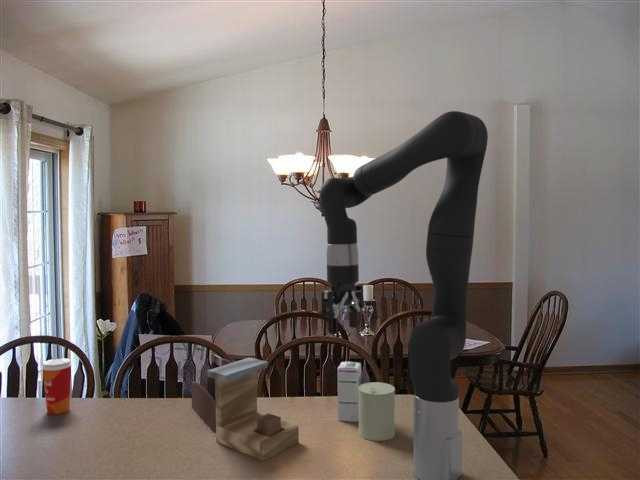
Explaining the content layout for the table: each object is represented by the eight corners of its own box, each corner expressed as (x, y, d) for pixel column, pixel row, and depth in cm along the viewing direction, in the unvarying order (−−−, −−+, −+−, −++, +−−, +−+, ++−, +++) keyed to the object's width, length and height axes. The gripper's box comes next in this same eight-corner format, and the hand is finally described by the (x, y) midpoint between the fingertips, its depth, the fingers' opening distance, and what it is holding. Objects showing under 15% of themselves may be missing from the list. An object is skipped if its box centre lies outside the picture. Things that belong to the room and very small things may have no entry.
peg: (280, 446, 127) (280, 417, 127) (269, 452, 124) (269, 422, 124) (268, 441, 130) (268, 413, 129) (256, 447, 127) (256, 418, 126)
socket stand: (301, 440, 130) (300, 369, 129) (260, 462, 119) (259, 385, 118) (250, 422, 141) (249, 357, 140) (208, 441, 130) (207, 370, 129)
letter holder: (224, 401, 157) (224, 354, 156) (250, 425, 140) (250, 372, 139) (191, 408, 152) (190, 359, 151) (213, 433, 135) (212, 378, 134)
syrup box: (359, 422, 141) (359, 368, 140) (337, 420, 142) (337, 367, 141) (362, 414, 147) (362, 362, 146) (340, 412, 148) (340, 360, 147)
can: (352, 436, 133) (352, 388, 132) (366, 423, 141) (366, 378, 140) (387, 444, 128) (387, 394, 127) (400, 429, 136) (400, 383, 136)
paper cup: (43, 408, 152) (41, 359, 151) (73, 404, 155) (71, 356, 154) (42, 418, 145) (40, 367, 144) (73, 413, 148) (71, 363, 147)
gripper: (337, 266, 119) (339, 338, 120) (372, 260, 131) (373, 326, 131) (311, 264, 124) (313, 334, 125) (346, 259, 135) (347, 323, 136)
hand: (343, 330), depth 128 cm, fingers open, 8 cm apart
